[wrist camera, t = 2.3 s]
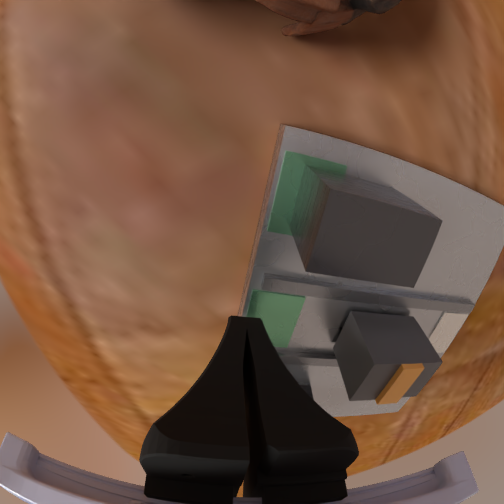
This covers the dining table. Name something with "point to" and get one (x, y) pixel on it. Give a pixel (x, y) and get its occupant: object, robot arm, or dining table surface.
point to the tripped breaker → (384, 357)
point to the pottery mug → (323, 13)
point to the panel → (437, 276)
